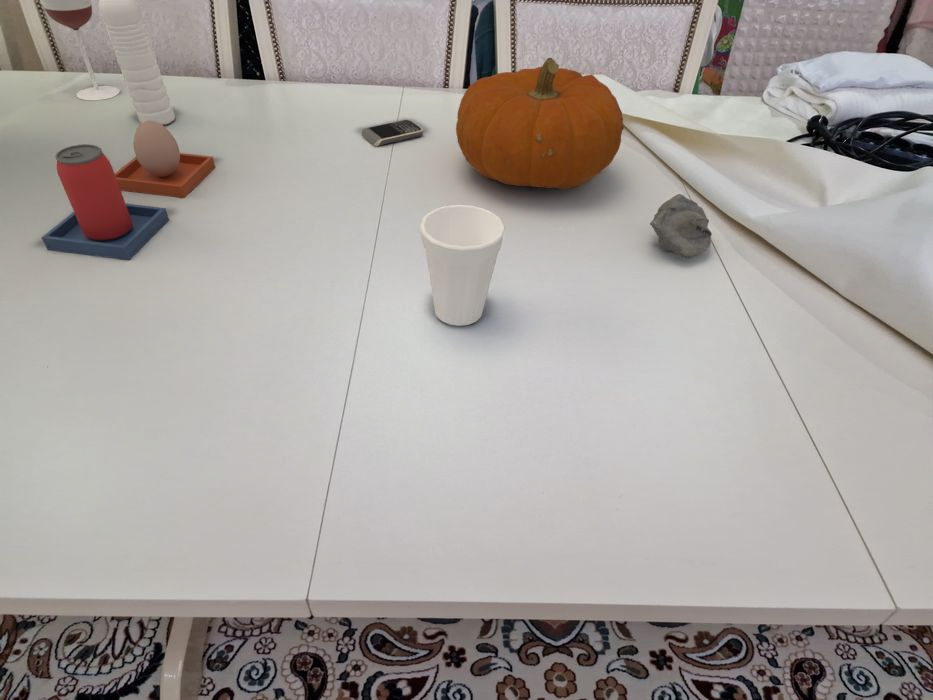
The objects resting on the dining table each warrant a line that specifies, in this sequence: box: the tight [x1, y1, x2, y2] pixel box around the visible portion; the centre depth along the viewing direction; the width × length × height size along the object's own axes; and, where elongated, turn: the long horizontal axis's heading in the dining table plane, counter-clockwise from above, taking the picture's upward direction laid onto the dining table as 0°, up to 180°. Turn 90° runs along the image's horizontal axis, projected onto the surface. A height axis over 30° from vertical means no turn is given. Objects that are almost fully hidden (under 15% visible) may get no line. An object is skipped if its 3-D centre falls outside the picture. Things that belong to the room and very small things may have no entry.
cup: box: [419, 204, 506, 327], centre depth 76 cm, size 10×10×13 cm
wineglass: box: [39, 0, 121, 101], centre depth 122 cm, size 9×10×22 cm
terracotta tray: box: [114, 152, 216, 199], centre depth 103 cm, size 12×11×2 cm
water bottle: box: [98, 0, 176, 126], centre depth 112 cm, size 9×6×25 cm
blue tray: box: [41, 202, 170, 261], centre depth 89 cm, size 12×11×2 cm
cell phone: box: [361, 119, 424, 147], centre depth 120 cm, size 6×11×1 cm, turn 124°
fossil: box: [649, 193, 713, 259], centre depth 92 cm, size 11×9×8 cm
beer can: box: [54, 143, 133, 241], centre depth 86 cm, size 7×7×12 cm
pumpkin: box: [455, 57, 625, 189], centre depth 104 cm, size 28×28×20 cm
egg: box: [132, 121, 181, 177], centre depth 100 cm, size 7×7×9 cm
